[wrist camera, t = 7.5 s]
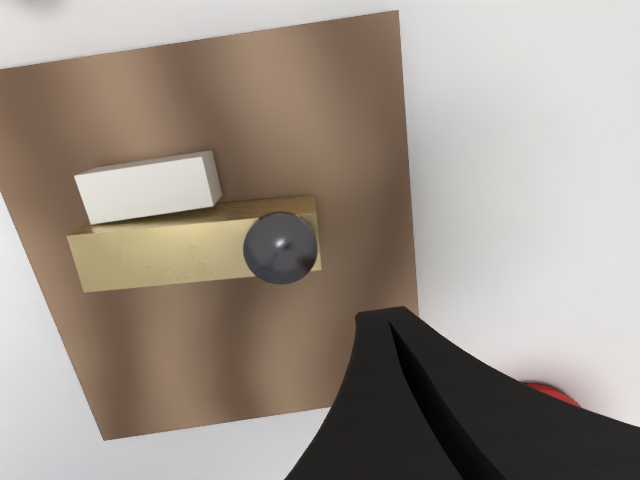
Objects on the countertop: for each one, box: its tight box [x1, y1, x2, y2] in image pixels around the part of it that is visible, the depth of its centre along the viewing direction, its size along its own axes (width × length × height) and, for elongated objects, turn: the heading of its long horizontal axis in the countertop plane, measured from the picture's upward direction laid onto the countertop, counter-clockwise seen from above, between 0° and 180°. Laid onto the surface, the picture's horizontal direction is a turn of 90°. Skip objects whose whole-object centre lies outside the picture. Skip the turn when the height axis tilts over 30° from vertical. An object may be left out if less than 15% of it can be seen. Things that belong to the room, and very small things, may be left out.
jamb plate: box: [0, 10, 419, 441], centre depth 20 cm, size 18×19×1 cm
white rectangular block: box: [74, 150, 222, 224], centre depth 17 cm, size 5×2×2 cm, turn 98°
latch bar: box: [67, 195, 322, 293], centre depth 17 cm, size 10×3×4 cm, turn 95°
